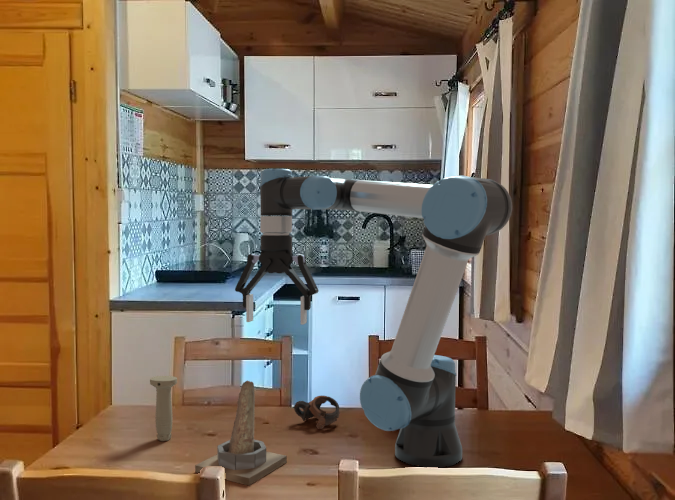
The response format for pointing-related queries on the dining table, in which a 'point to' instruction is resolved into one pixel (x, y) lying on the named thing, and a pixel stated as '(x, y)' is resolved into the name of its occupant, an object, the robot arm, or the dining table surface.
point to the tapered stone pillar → (244, 422)
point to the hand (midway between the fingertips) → (276, 322)
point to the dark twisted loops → (317, 410)
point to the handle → (163, 405)
